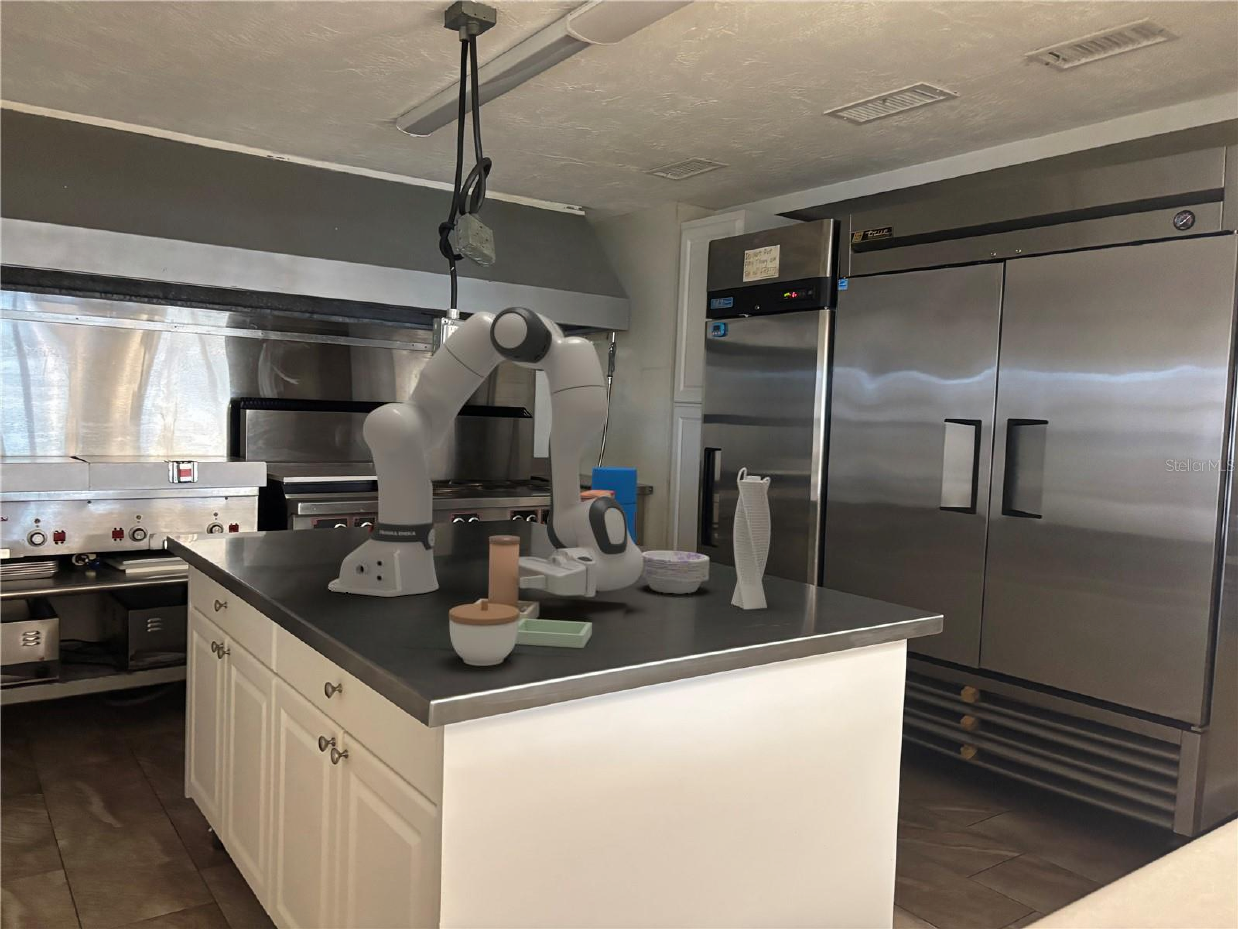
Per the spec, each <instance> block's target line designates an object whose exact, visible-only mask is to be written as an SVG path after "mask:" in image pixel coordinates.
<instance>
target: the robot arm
mask: <svg viewBox="0 0 1238 929" xmlns="http://www.w3.org/2000/svg"><path fill="white" fill-rule="evenodd" d="M506 360H508V361H510V362H512V363H513V364H516V365H518V366H520V367H522V368H527V369H531V370H533V371H538V372H544V373H545V375H546V379H547V381H548V388H549V390H548V391H549V395H550V405H551V427H550V428H551V429H550V433H549V439H548V448H547V450H548V456H547V457H548V478H549V499H550V500H549V511H548V516H547V522H546V533H547V537H548V540H549V541H550V543H551V546H552V547H553V548H554V549H555V550H554V551H553V553H552V554H551V556H549V557H548V559H546V558H545V559H544V558H540V557H536V556H519V577H518V578H517V586H518V588H520V589H530V588H531V589H538V590H541V591H545V592H548V593H551V594H554V595H557V596H561V597H568V596H572V597H573V596H579V597H583V598H584V597H586V598H589V597H590V598H591V597H592V598H593V597H595V596H596V592H608V591H615V590H619V589H623V588H626V587H629V586H631V585H633V584H634V583H635V582H637V581H638V580H639V578H640V577H641V576H640V575H641V573H642V569H643V556H642V553H643V552H642V551H641V549H640V547H638V546H637V545H636V543H635V544H634V543H633V541H632V539H631V537H630V534H629V532H628V529H627V518H626V514H625V512H624V510H623V508H622V506H621V505H620V504H619V503H618V502H617V501H616V500H614V499H613V498H610V497H606V496H603V497H598V498H594V499H590V500H586V501H584V502H581V498H580V493H581V484H580V482H581V481H580V480H581V479H580V461H581V460H580V459H581V458H582V457H581V456H582V454H583V452H584V450H585V449H586V447H587V446H588V445H589V443H590V442H591V441H592V440H593V439H594V438H595V437H596V436H597V435H598V434H599V432H600V431H601V430H602V429H603V428H604V425H605V424H606V422H607V419H608V411H609V410H608V409H609V402H608V395H607V390H606V383H605V378H604V373H603V369H602V366H601V362H600V359H599V356H598V354H597V351H596V348H595V346H594V344H593V343H592V342H591V341H590V340H589V339H586V338H584V337H580V336H568V337H567V334H566V333H565V331H564V329H563V328H562V327H561V326H560V325H559V324H557V323H556V322H554V321H553V320H551V319H550V318H549V317H548V316H546V315H544V314H542V313H539V312H536V311H533V310H531V309H530V308H527V307H523V306H522V307H521V306H511V307H507V308H505V309H502V310H501V311H499V312H498V314H494V313H491V312H489V311H483V310H482V311H477V312H475V313H474V314H472V315H471V316H470V317H468V318H467V319H466V320H465V321H464V322H462V324H460V325H459V326H458V327H457V328H456V329H455V330H454V331H453V332H452V333H451V334H450V335H449V336H448V337H447V339H446V340H445V341H444V342H443V343H442V344H441V346H440V347H439V348H438V350H436V352H435V353H434V354H433V356H431V358H430V359H429V360H427V362H426V363H425V365H424V366H423V368H421V370H420V372H419V377H418V381H417V383H416V385H415V387H414V389H413V391H412V392H411V393H410V395H409V397H408V398H407V399H406V400H405V401H404V402H401V403H399V402H393V403H392V402H391V403H387V404H384V405H382V406H379V407H377V408H376V409H374V410H371V412H369V414H368V415H367V417H366V418H365V420H364V423H363V427H362V435H363V438H364V441H365V443H366V445H367V446H368V447H369V449H370V451H371V455H372V460H373V464H374V468H375V473H376V479H377V487H378V490H377V491H378V496H377V498H378V503H377V504H378V505H377V506H378V508H377V509H378V510H377V512H378V520H377V521H374V523H372V524H371V525H369V526H367V527H366V533H369V539H368V540H367V541H366V540H365V542H364V543H362V544H361V545H360V546H359V547H357V548H355V550H353V551H352V552H350V553H348V555H347V556H346V557H345V558H343V561H342V562H341V566H340V570H339V577H338V578H336V579H333V580H332V581H330V582H329V584H328V585H327V590H328V589H329V590H331V591H330V592H338V593H339V592H340V593H346V592H348V593H347V594H349V593H350V594H357V595H367V596H378V597H385V598H386V597H388V598H391V597H398V596H405V595H417V594H425V593H429V592H434V591H436V590H438V589H439V587H440V586H439V583H438V579H437V574H436V569H435V560H434V553H433V552H434V550H433V549H434V545H435V536H436V535H435V523H434V521H433V483H432V481H431V479H430V477H429V475H428V474H429V473H428V471H427V466H426V465H427V464H426V460H425V455H426V454H428V453H431V452H432V451H434V450H435V449H437V448H438V447H439V446H440V445H441V444H442V443H443V442H444V440H445V439H446V435H447V432H448V431H449V429H450V428H451V426H452V424H453V423H454V421H455V419H456V417H457V415H458V413H459V412H460V410H461V409H462V407H464V405H465V403H466V402H467V401H468V400H469V399H470V397H471V396H472V395H473V394H474V392H475V391H477V389H478V388H479V387H480V385H482V383H483V382H484V381H485V380H486V378H487V377H488V376H489V375H490V374H491V372H492V371H493V370H494V369H495V367H497V366H498V364H500V363H501V362H503V361H506ZM329 590H328V591H329Z"/></svg>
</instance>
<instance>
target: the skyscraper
mask: <svg viewBox="0 0 1238 929" xmlns="http://www.w3.org/2000/svg"><path fill="white" fill-rule="evenodd" d="M743 471H744V472H743ZM742 472H743V478H742V480H740V479H741V475H742ZM747 472H748V470H747V468H746V467H742V468H741V469H740V470H739V471H738V475H737V478H736V479H737V480H736V483H737V487H738V492H739V495H738V500H737V502H736V503H737V504H736V508H735V514H734V521H733V530H732V531H733V534H732V535H733V537H732V538H733V540H732V542H733V555H734V564H735V572H736V578H737V581H736V585H735V588H734V592H733V595H732V600H731V605H734V606H736V607H738V606H739V607H738V608H741V609H743V610H755V609H767V608H768V606H767V601H766V596H765V590H764V586H763V582H762V580H763V577H764V572H765V569H766V566H767V565H766V564H767V559H768V555H769V551H770V550H769V549H770V542H771V513H770V506H769V498H768V490H769V486H770V483H771V478H770V477H769V476H768V477H767V476H766V477H765V478H764V479H762V480H761V476H756V475H755V476H753V475H748V476H747Z"/></svg>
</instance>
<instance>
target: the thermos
mask: <svg viewBox="0 0 1238 929" xmlns="http://www.w3.org/2000/svg"><path fill="white" fill-rule="evenodd" d="M591 490H607V491H614V492H615V499H614V500H616V501H617V502H618V503H619V504H620V505H621V506H622V508H623V510H624V512H625V514H626V518H627V529H628V532H629V534H630V537H631V539H632V541H633V543H634V544H635V545H636V528H637V527H636V526H637V496H638V495H637V494H638V471H637V468H632V467H619V466H617V467H615V466H614V467H613V466H608V467H607V466H600V467H599V466H598V467H595V466H594V467H593V468H592V472H591Z"/></svg>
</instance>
